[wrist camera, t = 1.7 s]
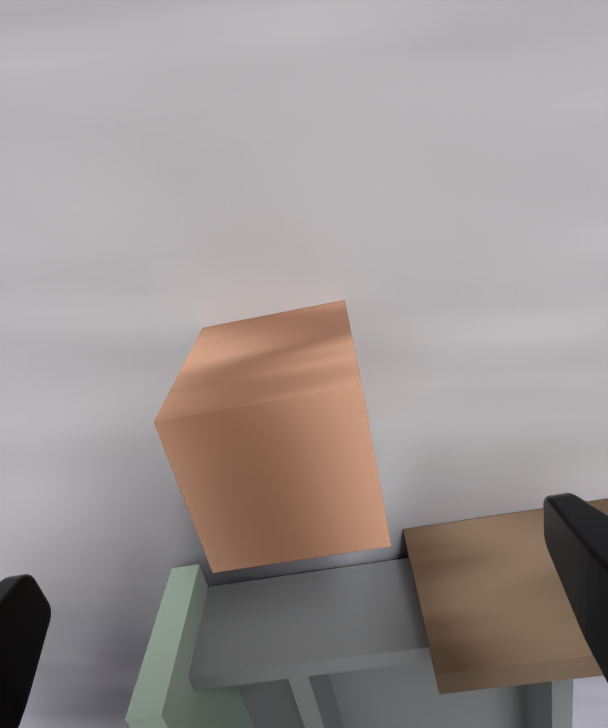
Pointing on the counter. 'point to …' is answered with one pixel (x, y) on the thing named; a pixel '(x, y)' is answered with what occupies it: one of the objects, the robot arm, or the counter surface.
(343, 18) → the counter surface
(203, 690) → the tray
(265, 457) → the block
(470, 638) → the sleeve
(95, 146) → the counter surface
